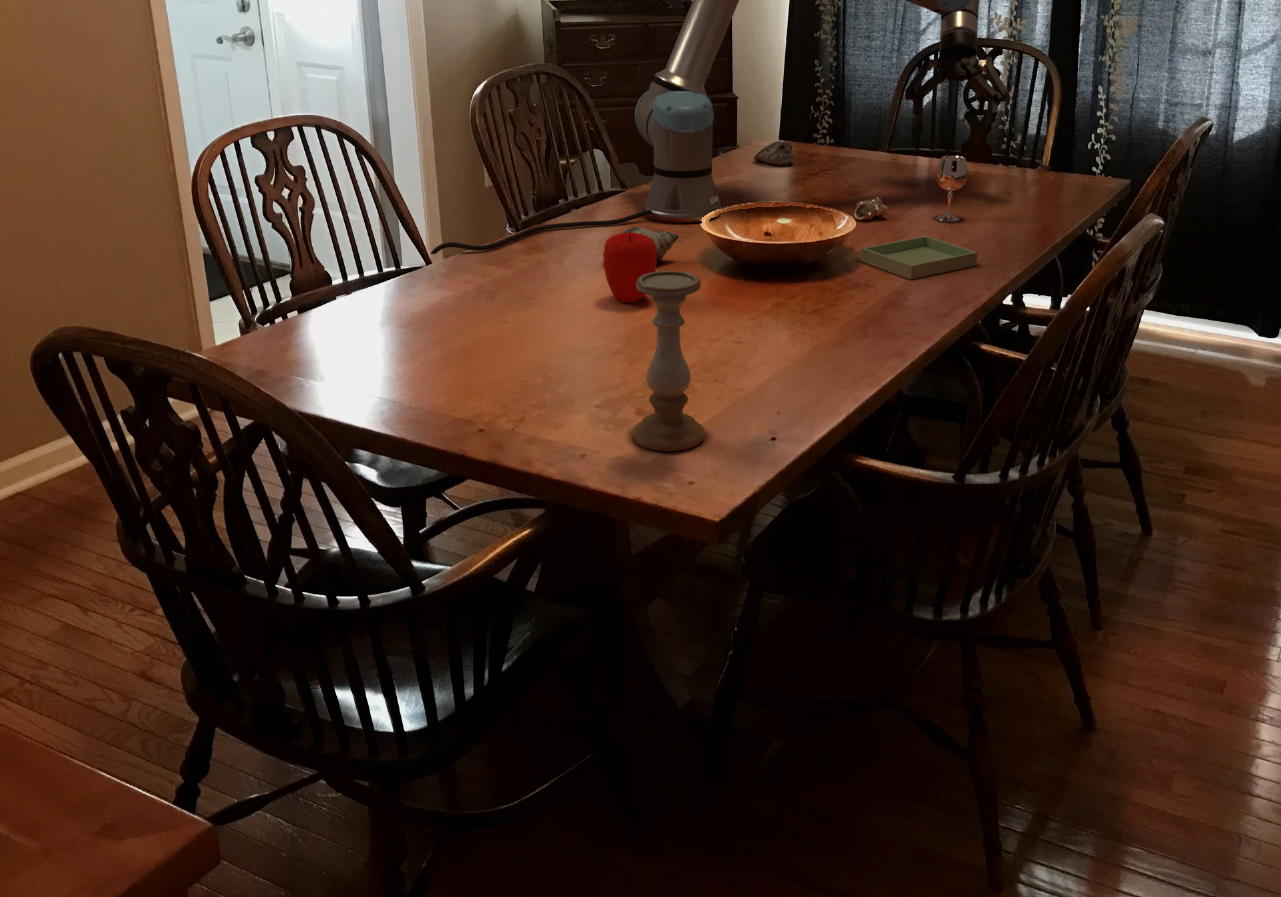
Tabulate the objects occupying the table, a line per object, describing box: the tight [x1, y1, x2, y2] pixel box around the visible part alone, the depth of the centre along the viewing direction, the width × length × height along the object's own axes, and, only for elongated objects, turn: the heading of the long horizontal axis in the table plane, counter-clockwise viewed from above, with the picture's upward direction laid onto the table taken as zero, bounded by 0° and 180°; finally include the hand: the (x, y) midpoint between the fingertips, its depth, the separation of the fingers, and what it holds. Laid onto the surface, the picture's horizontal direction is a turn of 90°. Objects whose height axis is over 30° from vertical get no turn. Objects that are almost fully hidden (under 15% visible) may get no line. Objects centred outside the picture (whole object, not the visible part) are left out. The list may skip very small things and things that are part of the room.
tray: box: [859, 235, 978, 280], centre depth 223 cm, size 15×13×2 cm
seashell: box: [602, 226, 679, 263], centre depth 225 cm, size 6×8×12 cm
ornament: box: [853, 196, 889, 221], centre depth 252 cm, size 8×7×4 cm
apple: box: [603, 232, 658, 304], centre depth 205 cm, size 9×9×11 cm
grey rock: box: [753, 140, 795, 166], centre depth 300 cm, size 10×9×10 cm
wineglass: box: [936, 155, 968, 223], centre depth 249 cm, size 6×6×12 cm
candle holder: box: [632, 270, 705, 452], centre depth 153 cm, size 9×9×20 cm
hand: (954, 127), depth 255 cm, fingers open, 13 cm apart
